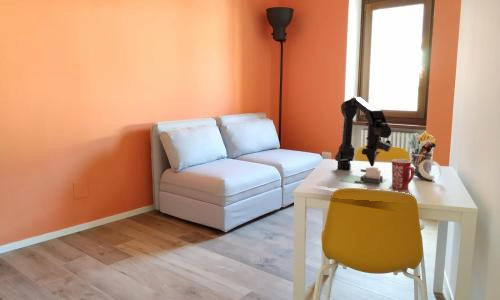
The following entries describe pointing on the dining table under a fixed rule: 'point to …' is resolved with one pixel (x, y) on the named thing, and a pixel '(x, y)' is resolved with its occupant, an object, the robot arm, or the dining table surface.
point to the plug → (372, 172)
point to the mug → (401, 174)
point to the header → (371, 179)
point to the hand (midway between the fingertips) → (372, 166)
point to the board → (358, 180)
